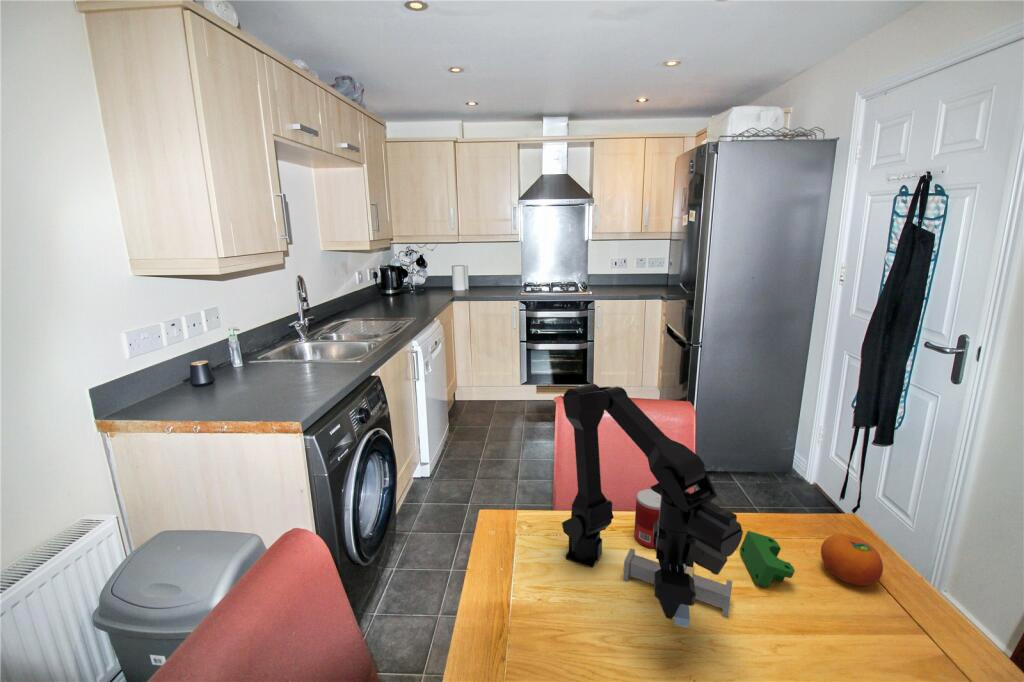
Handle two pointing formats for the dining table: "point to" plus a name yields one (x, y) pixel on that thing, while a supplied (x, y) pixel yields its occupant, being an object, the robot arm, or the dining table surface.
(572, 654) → the dining table surface
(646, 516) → the canned food
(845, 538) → the fruit
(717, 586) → the pipe valve
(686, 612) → the lever
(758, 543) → the green bracket
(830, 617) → the dining table surface
